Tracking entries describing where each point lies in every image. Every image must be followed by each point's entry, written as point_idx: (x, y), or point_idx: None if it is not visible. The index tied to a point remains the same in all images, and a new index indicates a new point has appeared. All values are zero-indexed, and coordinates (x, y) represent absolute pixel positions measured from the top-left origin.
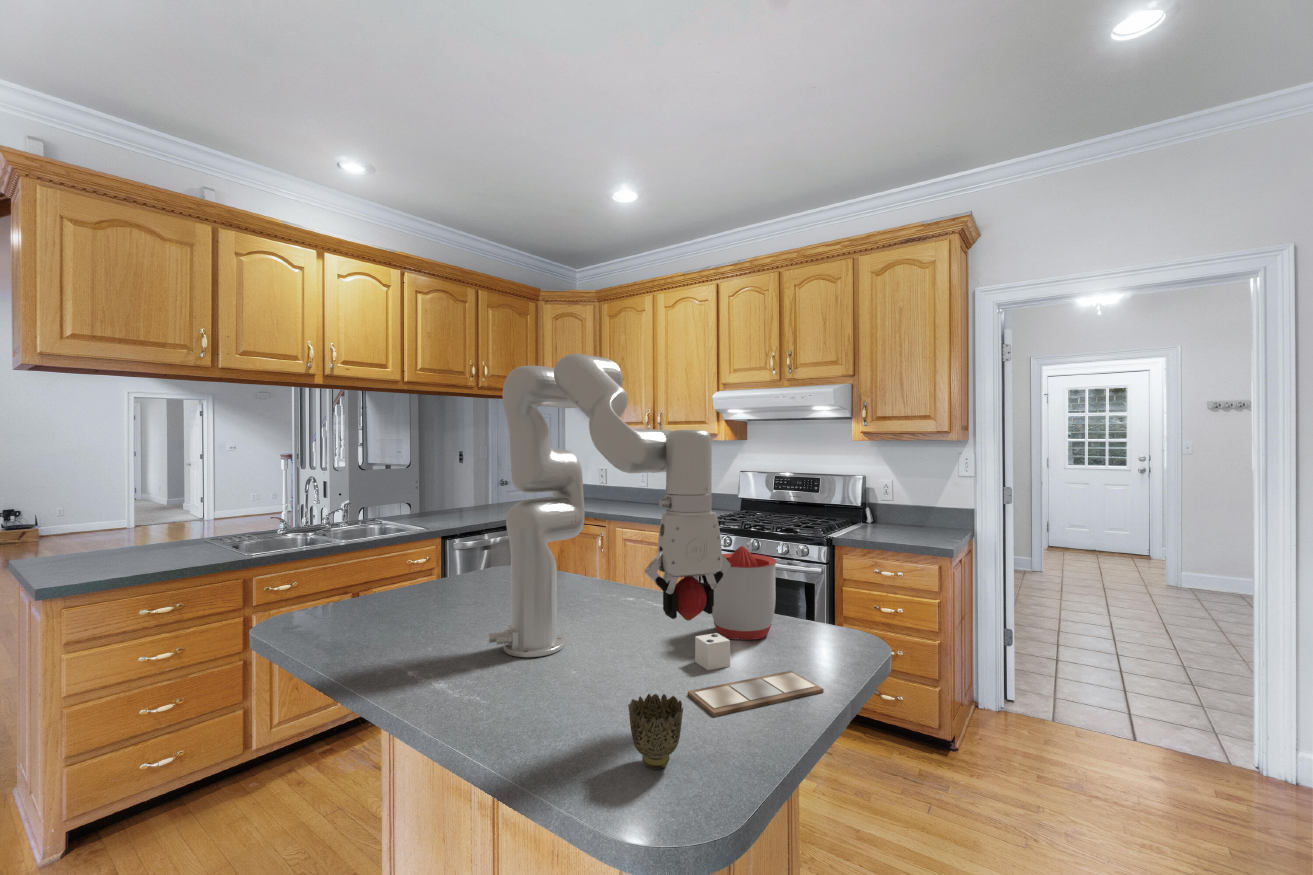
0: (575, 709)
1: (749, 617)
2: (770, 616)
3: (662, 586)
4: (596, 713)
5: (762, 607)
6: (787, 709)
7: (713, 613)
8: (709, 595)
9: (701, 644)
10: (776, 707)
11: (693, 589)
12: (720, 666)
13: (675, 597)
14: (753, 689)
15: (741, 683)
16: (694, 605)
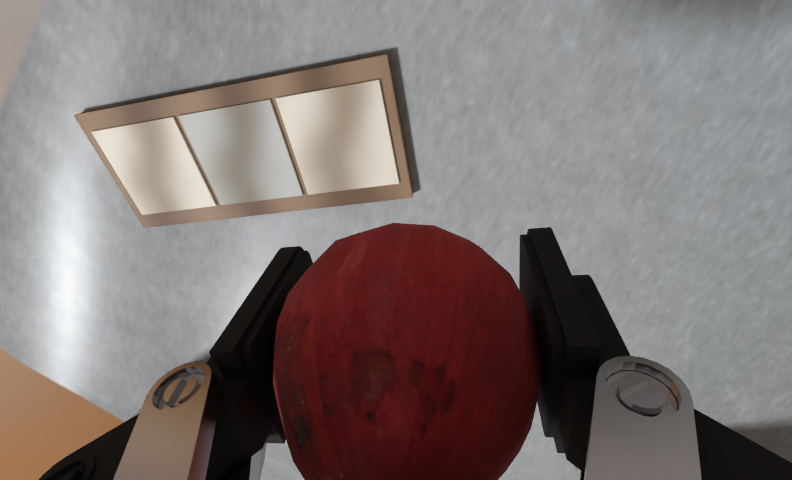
0: (717, 197)
1: None
2: (140, 410)
3: (744, 452)
4: (679, 161)
5: None
6: (184, 41)
7: (261, 452)
8: (254, 323)
9: None
10: (211, 62)
11: (390, 348)
12: None
13: (566, 321)
14: (249, 156)
15: (271, 196)
16: (406, 237)
